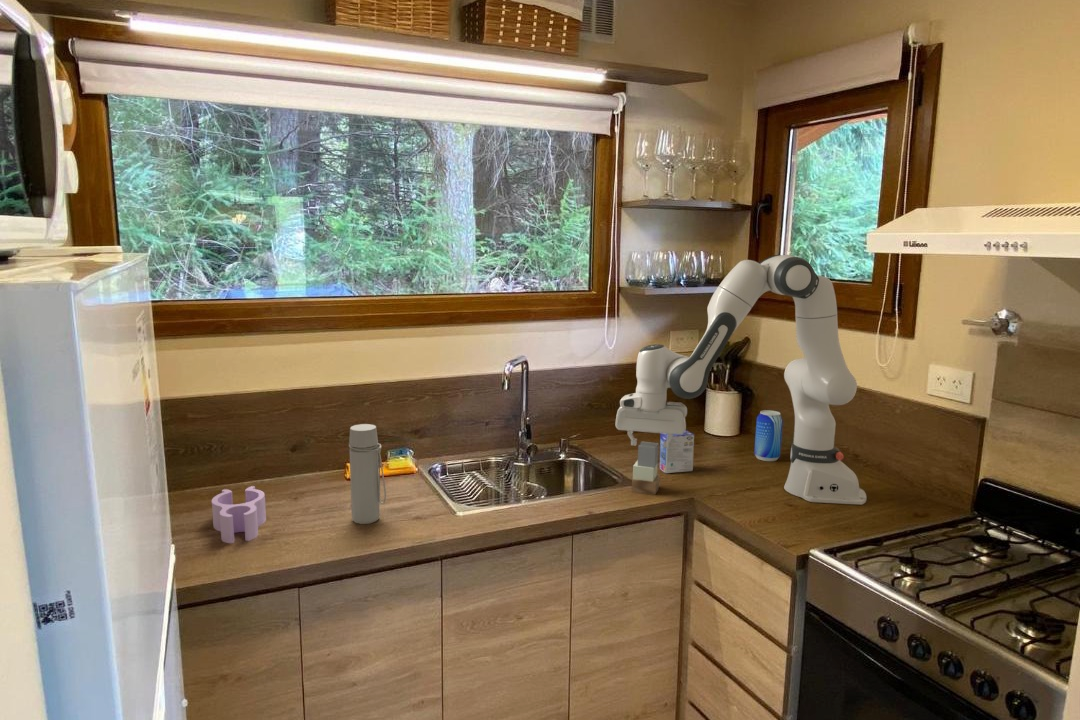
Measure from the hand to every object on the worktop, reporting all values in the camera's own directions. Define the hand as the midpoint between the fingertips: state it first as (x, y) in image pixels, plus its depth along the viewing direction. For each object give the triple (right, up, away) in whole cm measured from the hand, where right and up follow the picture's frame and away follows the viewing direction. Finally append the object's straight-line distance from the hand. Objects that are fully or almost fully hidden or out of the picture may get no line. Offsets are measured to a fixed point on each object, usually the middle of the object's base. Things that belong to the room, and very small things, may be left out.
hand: (649, 446), depth 206 cm
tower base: (-1, -13, +2) cm, 14 cm away
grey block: (-1, -5, +1) cm, 6 cm away
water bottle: (-77, -17, -23) cm, 82 cm away
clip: (-108, -17, -27) cm, 113 cm away
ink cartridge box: (+11, -10, +20) cm, 25 cm away
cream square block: (-1, -9, +2) cm, 10 cm away
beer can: (+45, -8, +34) cm, 57 cm away
